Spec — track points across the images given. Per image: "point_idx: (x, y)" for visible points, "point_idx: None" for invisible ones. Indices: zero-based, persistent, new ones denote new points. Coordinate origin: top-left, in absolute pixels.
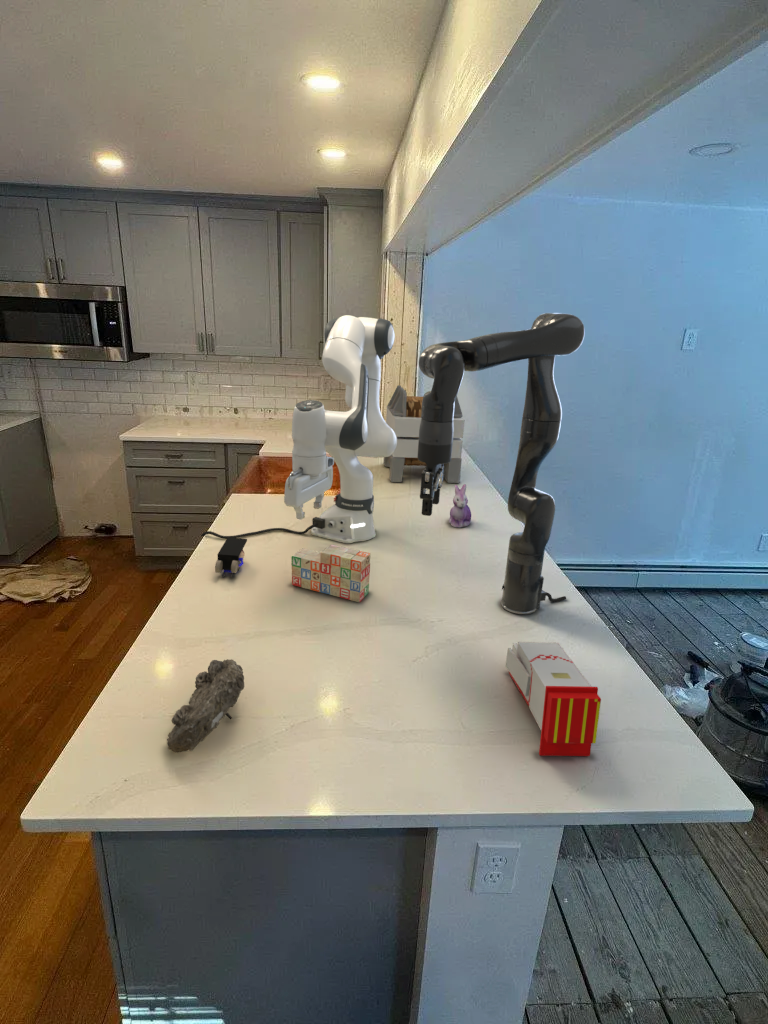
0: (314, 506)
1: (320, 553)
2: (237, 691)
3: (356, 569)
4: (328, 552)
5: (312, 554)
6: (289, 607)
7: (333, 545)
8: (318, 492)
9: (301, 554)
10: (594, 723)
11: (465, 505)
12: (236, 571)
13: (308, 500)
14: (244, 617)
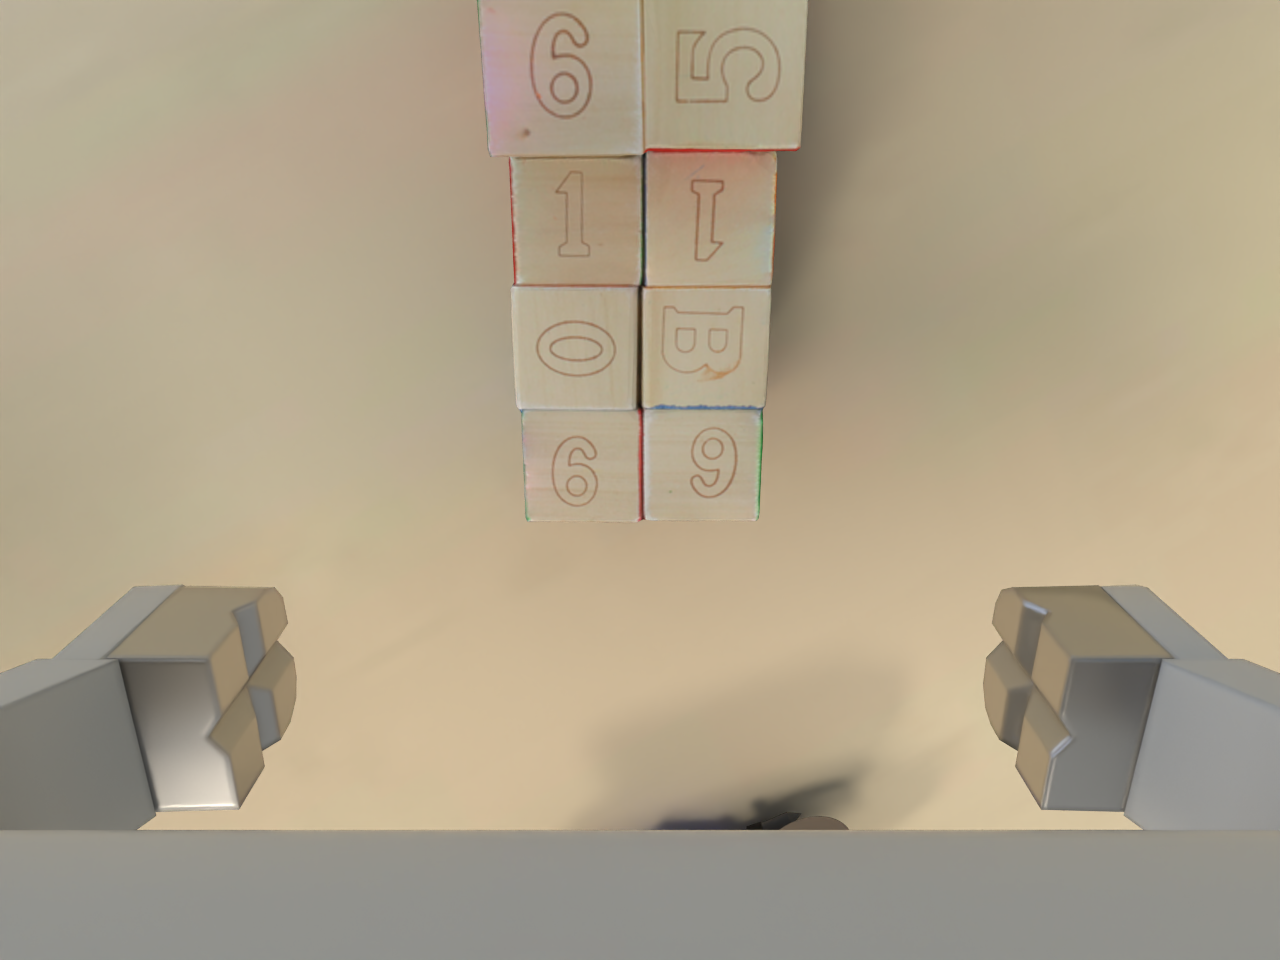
0: (277, 716)
1: (545, 275)
2: None
3: None
4: (758, 36)
5: (623, 341)
6: (1054, 251)
7: (496, 94)
8: (264, 940)
9: (676, 449)
10: None
11: None
12: (810, 822)
13: (1274, 843)
14: (1277, 461)
